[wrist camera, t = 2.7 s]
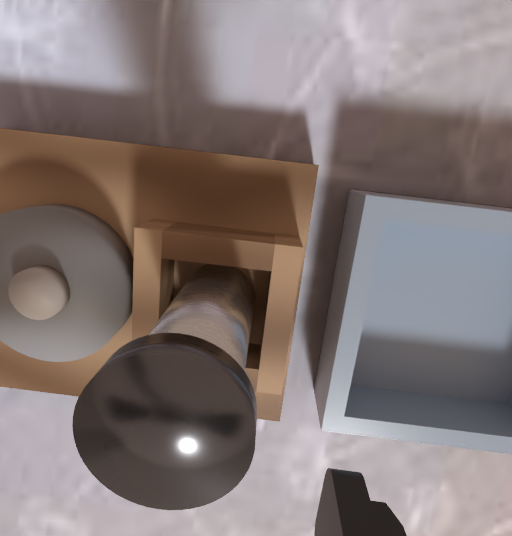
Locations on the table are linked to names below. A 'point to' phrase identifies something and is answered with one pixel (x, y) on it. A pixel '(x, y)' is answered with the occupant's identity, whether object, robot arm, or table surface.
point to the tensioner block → (139, 251)
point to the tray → (420, 324)
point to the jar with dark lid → (176, 400)
